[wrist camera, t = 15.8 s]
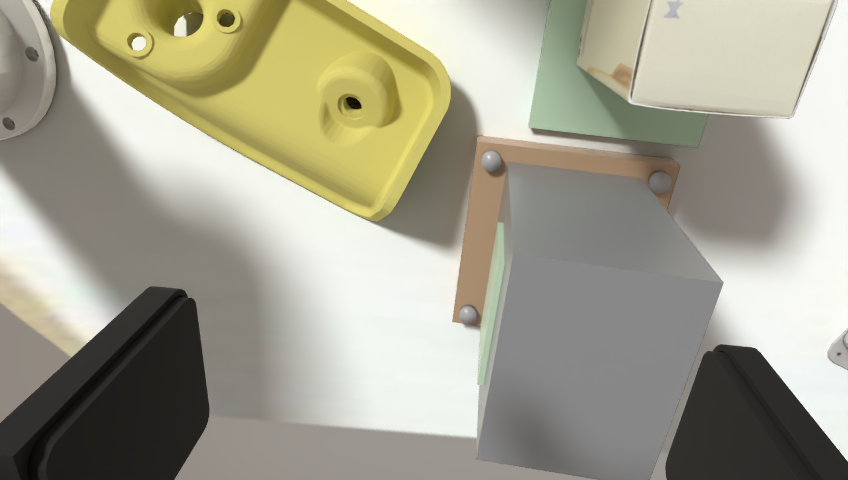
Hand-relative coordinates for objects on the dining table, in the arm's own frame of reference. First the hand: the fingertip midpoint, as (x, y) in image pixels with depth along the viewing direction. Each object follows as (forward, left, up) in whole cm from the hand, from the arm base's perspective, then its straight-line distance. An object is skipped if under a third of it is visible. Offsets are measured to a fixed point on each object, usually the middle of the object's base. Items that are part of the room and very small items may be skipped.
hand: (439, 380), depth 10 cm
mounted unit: (+6, -8, -26) cm, 28 cm away
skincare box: (+8, +5, -25) cm, 27 cm away
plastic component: (-12, +1, -26) cm, 29 cm away
